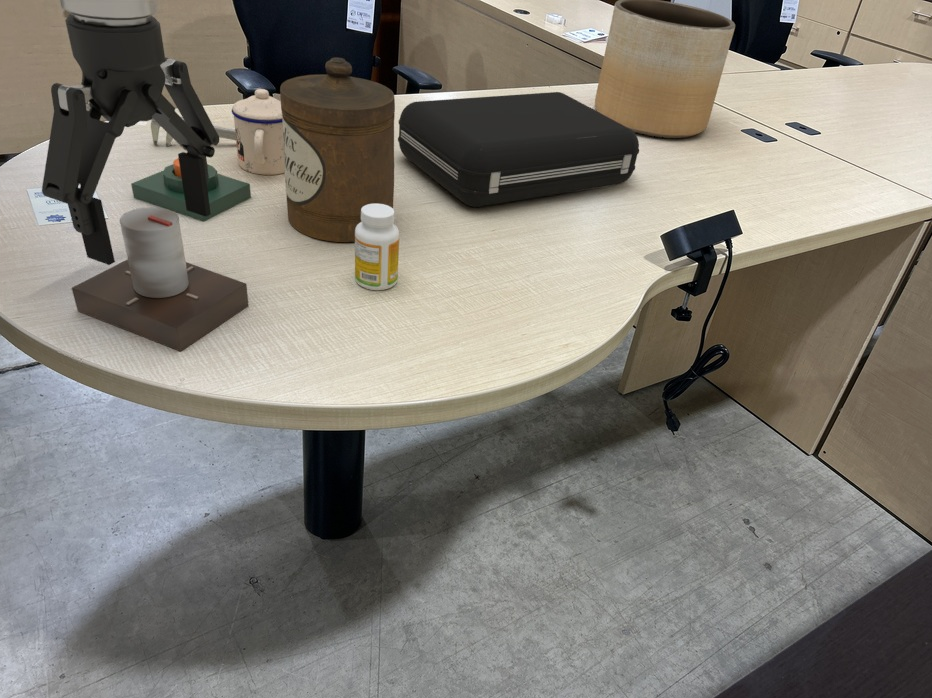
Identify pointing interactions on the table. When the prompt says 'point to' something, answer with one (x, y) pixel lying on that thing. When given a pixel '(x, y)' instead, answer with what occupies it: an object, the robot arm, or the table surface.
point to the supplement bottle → (376, 248)
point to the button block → (170, 193)
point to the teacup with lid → (259, 134)
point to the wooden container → (336, 150)
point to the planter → (662, 67)
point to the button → (177, 167)
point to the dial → (155, 251)
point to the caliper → (155, 126)
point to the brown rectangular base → (162, 305)
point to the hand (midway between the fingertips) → (153, 234)
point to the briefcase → (516, 146)
